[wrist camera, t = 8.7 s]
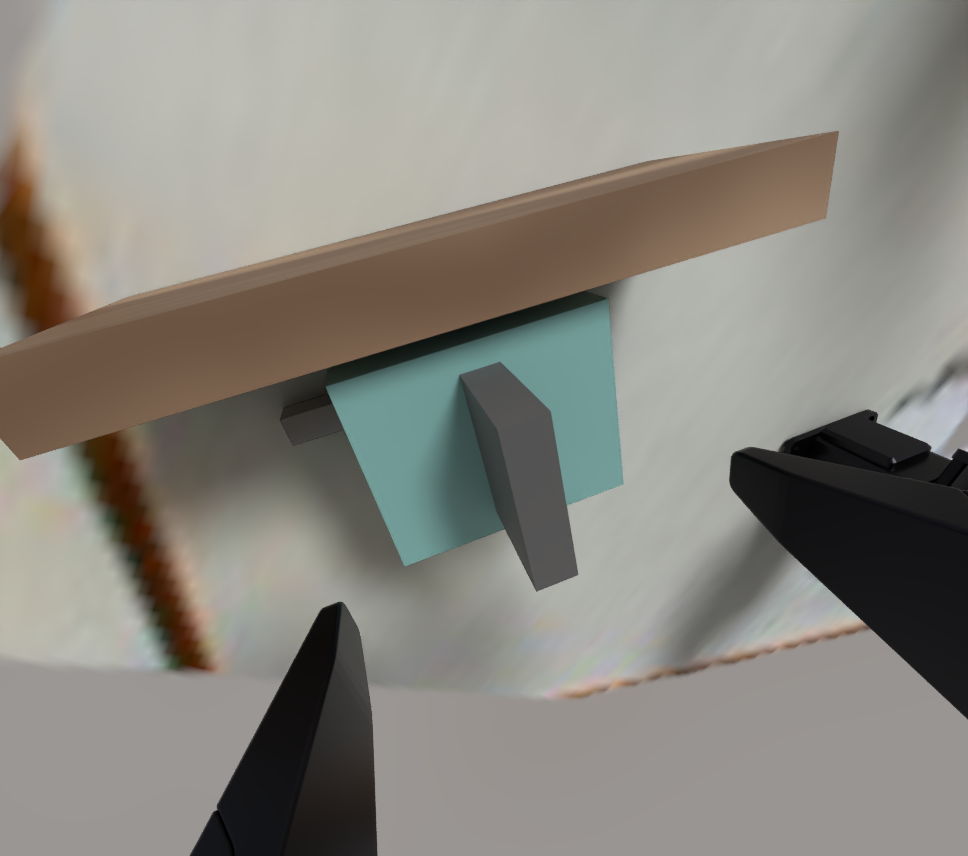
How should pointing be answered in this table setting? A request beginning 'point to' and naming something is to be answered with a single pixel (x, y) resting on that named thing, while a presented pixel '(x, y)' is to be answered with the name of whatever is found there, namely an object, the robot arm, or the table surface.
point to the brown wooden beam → (394, 291)
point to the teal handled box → (489, 431)
